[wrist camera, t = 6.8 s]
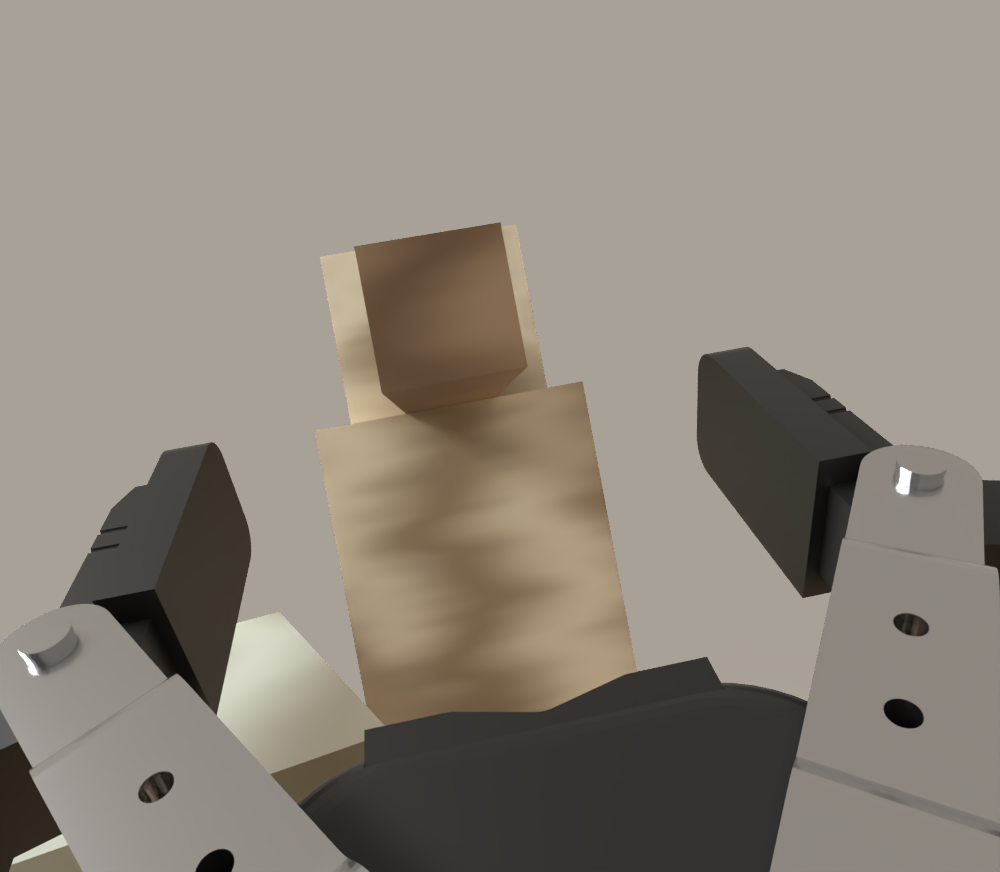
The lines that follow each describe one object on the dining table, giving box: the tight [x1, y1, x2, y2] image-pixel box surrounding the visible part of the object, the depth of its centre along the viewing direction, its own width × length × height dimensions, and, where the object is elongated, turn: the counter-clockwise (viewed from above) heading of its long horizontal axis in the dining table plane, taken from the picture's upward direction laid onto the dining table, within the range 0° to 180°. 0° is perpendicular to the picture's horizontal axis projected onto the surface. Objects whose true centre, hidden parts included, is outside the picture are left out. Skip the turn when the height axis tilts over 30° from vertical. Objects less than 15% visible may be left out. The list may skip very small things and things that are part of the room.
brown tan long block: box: [320, 223, 547, 424], centre depth 24 cm, size 7×18×6 cm, turn 4°
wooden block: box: [315, 382, 637, 726], centre depth 29 cm, size 10×10×34 cm
